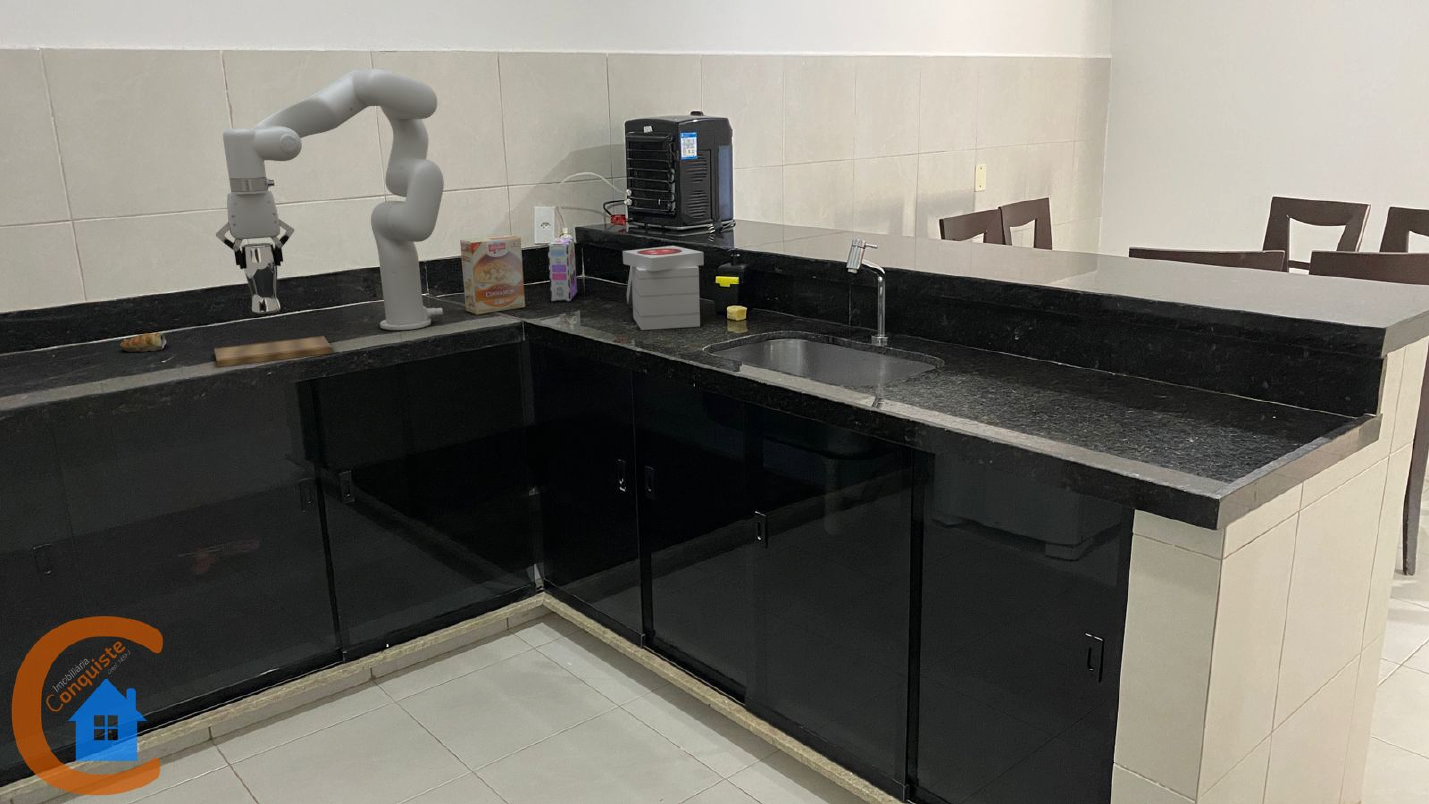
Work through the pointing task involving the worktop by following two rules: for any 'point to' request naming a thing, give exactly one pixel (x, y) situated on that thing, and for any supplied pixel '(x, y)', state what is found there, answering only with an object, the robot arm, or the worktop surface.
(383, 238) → the robot arm
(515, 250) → the coffeecake box
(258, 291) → the beer glass
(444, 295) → the worktop surface
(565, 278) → the candy box
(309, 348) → the serving board
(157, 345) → the pastry
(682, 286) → the pizza boxes
